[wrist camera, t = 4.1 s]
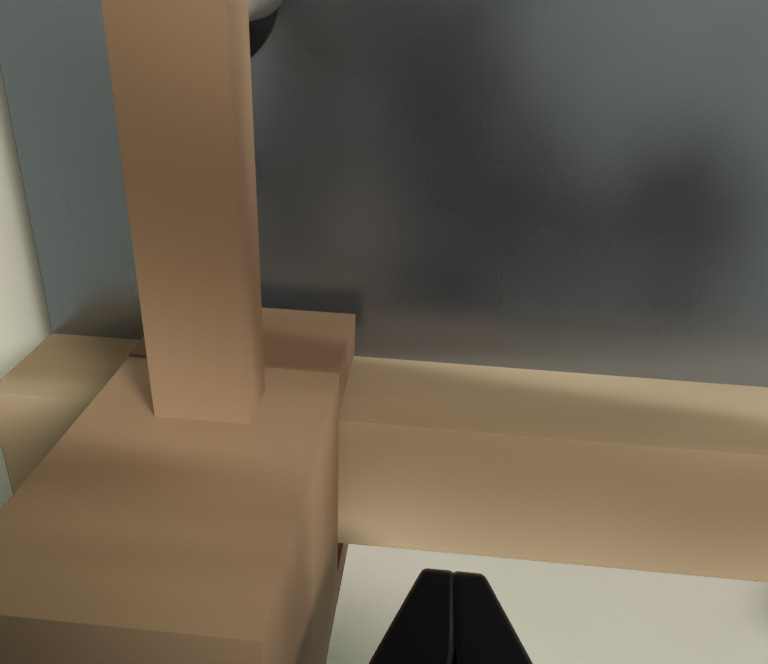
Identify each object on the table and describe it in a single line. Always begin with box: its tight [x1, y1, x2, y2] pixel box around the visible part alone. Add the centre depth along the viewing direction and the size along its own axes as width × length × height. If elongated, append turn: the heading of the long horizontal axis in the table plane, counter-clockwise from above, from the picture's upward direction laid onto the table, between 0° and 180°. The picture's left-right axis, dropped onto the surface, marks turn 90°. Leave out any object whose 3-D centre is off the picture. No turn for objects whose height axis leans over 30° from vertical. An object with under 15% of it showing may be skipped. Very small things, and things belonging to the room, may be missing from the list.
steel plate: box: [0, 0, 768, 387], centre depth 11 cm, size 16×22×1 cm
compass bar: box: [0, 333, 768, 582], centre depth 10 cm, size 10×22×3 cm, turn 88°
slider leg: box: [0, 0, 355, 664], centre depth 9 cm, size 10×3×6 cm, turn 178°
